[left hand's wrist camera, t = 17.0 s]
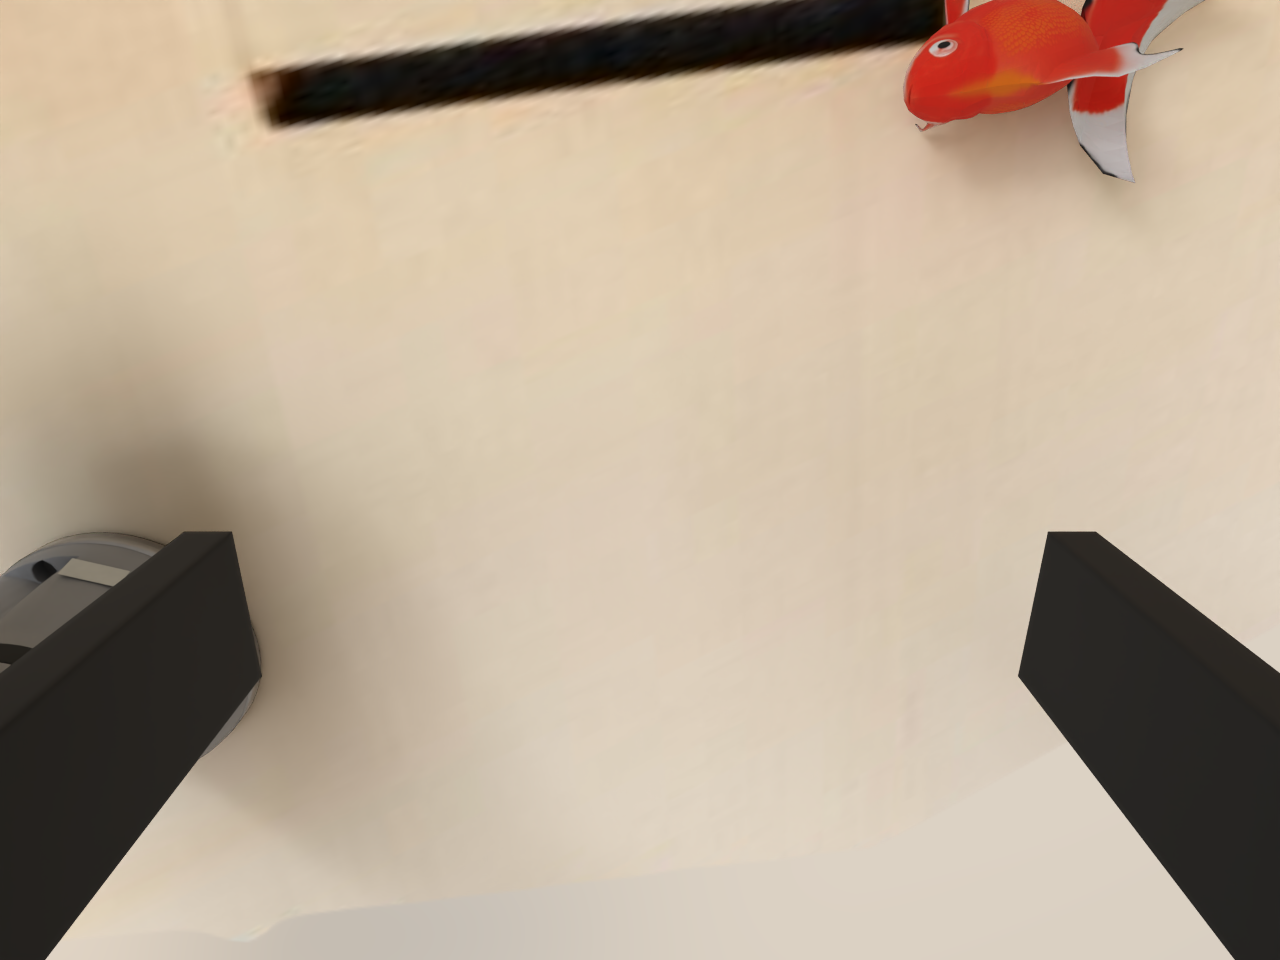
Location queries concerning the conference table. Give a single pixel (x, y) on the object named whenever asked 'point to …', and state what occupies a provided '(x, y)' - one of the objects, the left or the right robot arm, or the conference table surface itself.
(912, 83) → the fish
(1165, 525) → the conference table surface
